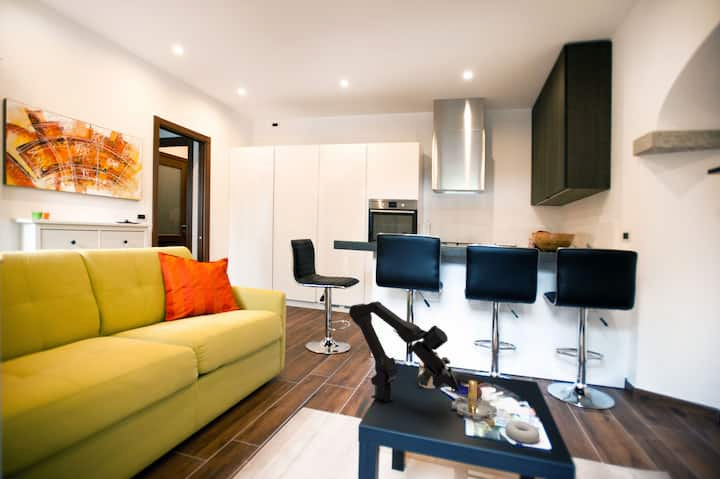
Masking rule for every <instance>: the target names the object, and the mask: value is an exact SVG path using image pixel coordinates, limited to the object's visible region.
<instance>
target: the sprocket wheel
mask: <svg viewBox="0 0 720 479" xmlns="http://www.w3.org/2000/svg"><path fill="white" fill-rule="evenodd" d="M468 386H469V392H468V394H467V395H468V397H461V396H458V397H456V398H454V399H455V401H451V407H452V408H451V409H456V413H457V414H458V415H460V416H467V417H471V418H472V419H474V420H481V419H483V418H486V419H492V418H495V414H497V411H498V410H497V406H496V405H491V402H490V401H489V400H486V399H480V398H479V399H477V386H478V385H477V381H474V380H469V384H468Z"/></svg>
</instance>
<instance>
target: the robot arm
mask: <svg viewBox="0 0 720 479" xmlns="http://www.w3.org/2000/svg"><path fill="white" fill-rule="evenodd" d="M372 313H373V314H374V315H376V317H378V318H379V319H381V320H382V321H383V322H385V323H386V324H387V325H389V326H390V327H392V328H393V330H395V331H396V333H397V336H398V337H399V338H400V339H401V340H402V341H403V342H404V343H406V344H409V345H408V346H407V355H410V354H412V353H414V354H415V356H417V358H418V359H419V360H420V362H421V361H422V362H423V363H424V364H423V367H424V368H425V369H424V370H423V372H422V374H420V375H419V374H418V376H417V380H418V384H419V383H420V384H421V385H424V386H426V387H427V385H428V382H429V380H430V378H431V376H432V377H433V385H434V386H435V388H434V389H439V388H440V387H441V386H442V385H443V384H444V385H445V384H446V385H448V386H449V387H448V388H452V389H453V391H457V392H456V393H459V392H458V391H459V387H458V384H457V382H456V379H455V377H454V376H455V375H454V371H453V370H452V367H451V366H449V367H446V366H447V365H450V364H451V360H450V359H449V358H448V357H444V356H443V357H441V358H440V356H439V355H438V352H437V351H436V350H437V349H439V348H441V347H442V346H443V345H444V344H445V343H447V342H448V339H449V338H448V336H447V334H446V332H445V331H443V330H442V329H441V328H439V327H438V326H437V325H435V324H434V325H433V326H432V327H430V328H429V330H427V331H426V330H424V329H422V328H421V327H419V325H417V324H414V323H413V322H412V321H408V320H404V319H402V318H401V317H400V316H399V315H397V314H396V313H394V312H393V311H391V310H390V309H389V308H387V307H386V306H385V305H383V303H382V302H380V301H371V302H370V303H367V304H366V303H357V304H353V305H351V307H350V308H349V310H348V314H349V317H350V318H351V320H352V322H354V324H356V326H358V327H359V329H360V330H361V332H362V335H363V337H364V339H365V342H366V343H367V345H368V348H369V350H370V352H371V355H372V357H373V359H374V362H375V363H374V366H375V367H374V370H375V373H376V374H374V376H372V377H371V378H370V381H371V384H372V385H374V395H371V398H372V399H373V400H375V398H376V400H375V401H377V402H379V403H380V404H383V403H386V402H391V401H394V400H395V398H394V397H392V384H391V383H392V382H393V383H394V381H395V379H396V378H398V374H399V369H398V368H399V366H398V365H397V363H396V361H395V358H394V357H390V356H388V355H387V354H386V352H385V349H384V347H383V345H382V343H381V340H380V339H379V337H378V335H377V332H376V330H375V328H374V326H373V323H372ZM414 342H415V343H414ZM411 343H413V344H411ZM446 385H445V386H446ZM452 389H451V390H452Z"/></svg>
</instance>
